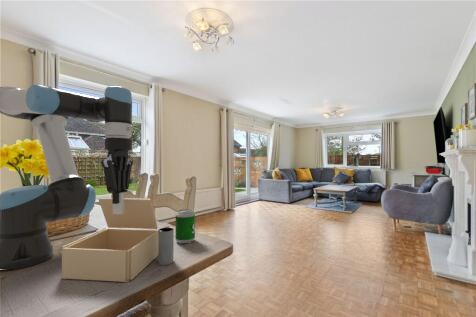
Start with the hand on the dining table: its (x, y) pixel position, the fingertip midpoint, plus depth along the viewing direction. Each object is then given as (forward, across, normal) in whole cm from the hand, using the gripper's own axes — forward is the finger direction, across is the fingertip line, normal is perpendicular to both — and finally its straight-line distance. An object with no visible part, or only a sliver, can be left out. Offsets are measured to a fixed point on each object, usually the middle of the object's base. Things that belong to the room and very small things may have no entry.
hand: (118, 213), depth 73 cm
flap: (+7, +8, 0) cm, 11 cm away
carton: (+15, -1, 0) cm, 15 cm away
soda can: (+16, +21, -14) cm, 30 cm away
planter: (+16, +2, -14) cm, 21 cm away
